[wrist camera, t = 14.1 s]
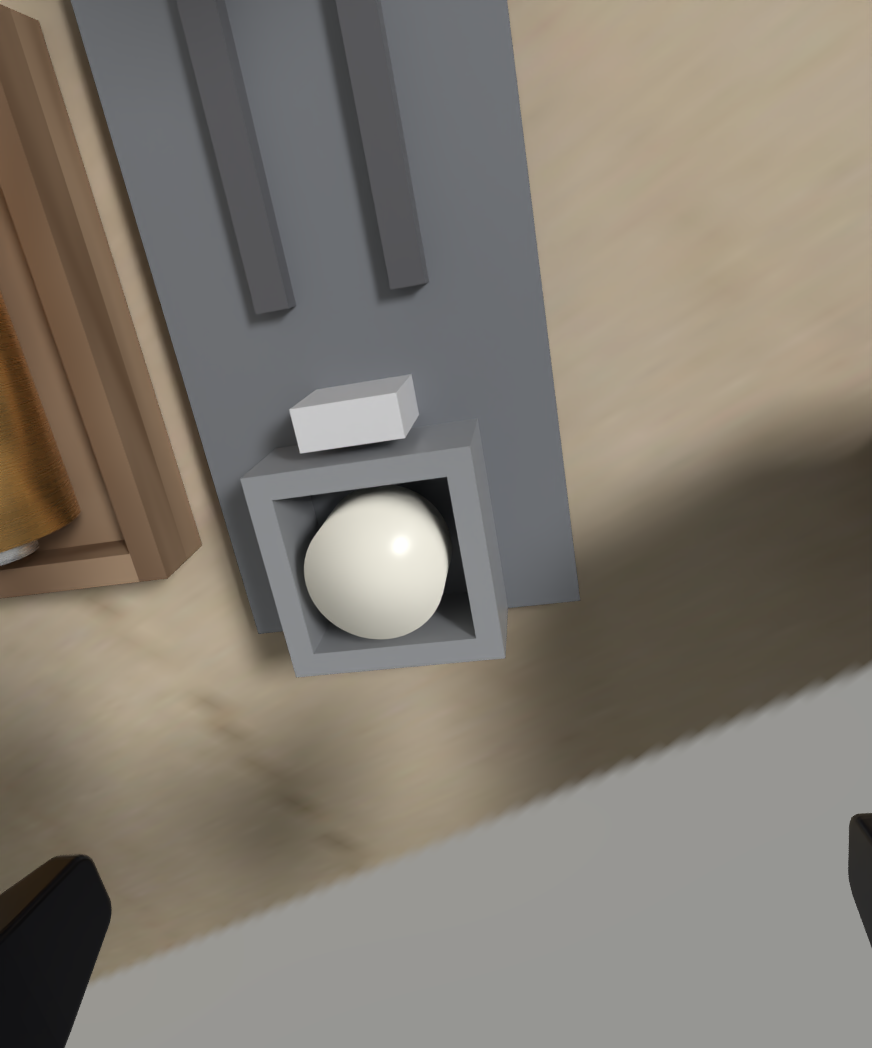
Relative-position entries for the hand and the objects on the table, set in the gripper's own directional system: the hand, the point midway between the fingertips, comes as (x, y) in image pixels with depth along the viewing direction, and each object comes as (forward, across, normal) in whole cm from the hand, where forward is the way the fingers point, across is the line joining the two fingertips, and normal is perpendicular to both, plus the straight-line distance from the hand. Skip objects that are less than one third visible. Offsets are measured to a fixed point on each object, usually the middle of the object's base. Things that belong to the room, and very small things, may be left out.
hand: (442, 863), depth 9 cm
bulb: (+10, +2, 0) cm, 10 cm away
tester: (+12, +2, -6) cm, 14 cm away
